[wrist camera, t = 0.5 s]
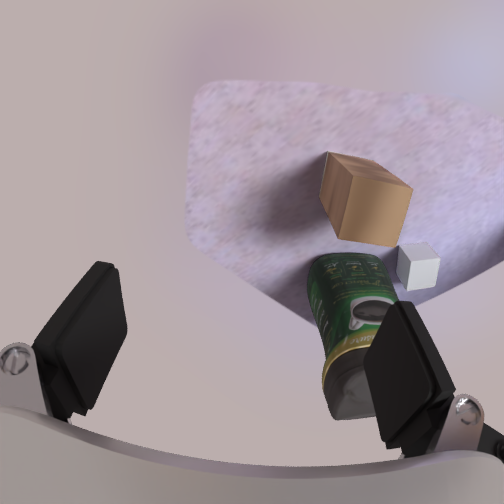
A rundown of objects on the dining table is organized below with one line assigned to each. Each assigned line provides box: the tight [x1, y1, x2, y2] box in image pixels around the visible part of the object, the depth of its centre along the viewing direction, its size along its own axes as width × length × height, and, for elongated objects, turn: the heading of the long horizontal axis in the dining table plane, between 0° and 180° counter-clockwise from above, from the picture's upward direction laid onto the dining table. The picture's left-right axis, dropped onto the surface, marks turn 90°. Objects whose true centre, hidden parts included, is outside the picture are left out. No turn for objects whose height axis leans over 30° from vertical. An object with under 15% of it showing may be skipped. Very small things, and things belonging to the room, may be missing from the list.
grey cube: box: [396, 242, 441, 291], centre depth 32 cm, size 4×4×4 cm
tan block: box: [319, 151, 413, 248], centre depth 25 cm, size 5×5×10 cm
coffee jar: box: [307, 253, 399, 420], centre depth 27 cm, size 10×8×19 cm
